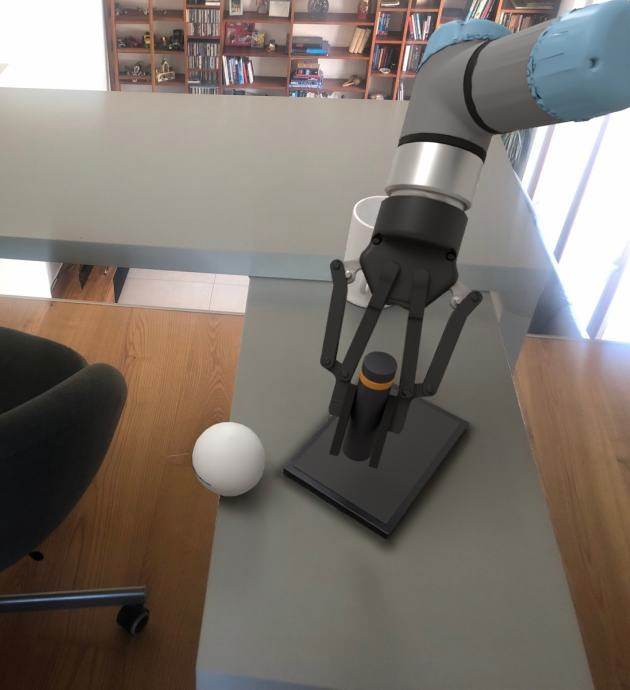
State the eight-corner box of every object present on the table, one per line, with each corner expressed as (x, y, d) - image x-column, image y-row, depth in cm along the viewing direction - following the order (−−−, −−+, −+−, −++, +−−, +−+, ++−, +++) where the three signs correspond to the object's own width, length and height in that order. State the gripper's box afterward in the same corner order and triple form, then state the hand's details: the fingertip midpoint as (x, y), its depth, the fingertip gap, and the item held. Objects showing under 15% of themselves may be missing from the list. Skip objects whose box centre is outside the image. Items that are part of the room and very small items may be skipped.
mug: (381, 332, 87) (401, 254, 79) (318, 309, 91) (330, 233, 82) (410, 281, 94) (431, 205, 86) (350, 262, 98) (365, 187, 89)
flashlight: (377, 448, 67) (404, 361, 58) (362, 467, 65) (387, 380, 57) (351, 433, 68) (373, 345, 60) (335, 451, 67) (356, 364, 58)
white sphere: (267, 457, 74) (272, 412, 68) (258, 516, 68) (263, 472, 63) (175, 442, 75) (173, 397, 70) (159, 499, 70) (157, 455, 65)
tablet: (467, 428, 76) (469, 422, 75) (386, 540, 66) (388, 534, 65) (369, 377, 82) (371, 370, 81) (282, 473, 72) (283, 467, 71)
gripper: (513, 233, 63) (441, 482, 63) (339, 198, 67) (274, 430, 68) (530, 213, 55) (449, 494, 56) (334, 176, 60) (261, 436, 61)
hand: (353, 459), depth 62 cm, fingers closed on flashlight, 3 cm apart
